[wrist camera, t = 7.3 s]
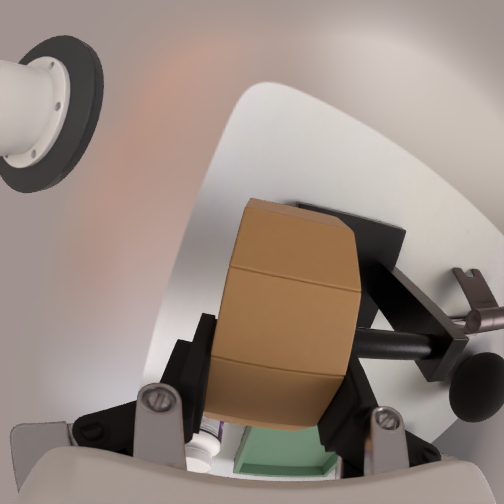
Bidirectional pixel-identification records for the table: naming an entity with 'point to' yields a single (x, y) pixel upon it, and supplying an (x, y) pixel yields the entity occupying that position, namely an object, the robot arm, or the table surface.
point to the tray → (283, 453)
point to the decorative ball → (478, 387)
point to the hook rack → (396, 303)
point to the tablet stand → (478, 305)
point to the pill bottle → (204, 445)
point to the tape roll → (284, 319)
